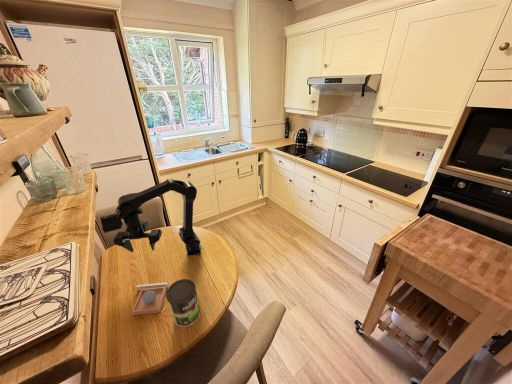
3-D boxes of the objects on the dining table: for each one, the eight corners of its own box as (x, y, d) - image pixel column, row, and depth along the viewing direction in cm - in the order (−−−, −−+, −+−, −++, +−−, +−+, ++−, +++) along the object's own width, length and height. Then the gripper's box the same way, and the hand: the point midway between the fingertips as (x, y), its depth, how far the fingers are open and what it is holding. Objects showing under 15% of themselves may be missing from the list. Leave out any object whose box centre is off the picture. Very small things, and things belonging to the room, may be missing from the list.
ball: (158, 294, 91) (156, 287, 88) (155, 305, 86) (152, 298, 84) (146, 295, 90) (143, 288, 88) (142, 307, 86) (139, 299, 83)
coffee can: (206, 309, 85) (201, 286, 78) (186, 332, 78) (179, 309, 71) (188, 297, 90) (182, 274, 83) (168, 317, 82) (159, 294, 76)
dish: (166, 289, 93) (165, 286, 92) (160, 312, 84) (158, 308, 83) (142, 292, 92) (141, 289, 91) (133, 315, 84) (131, 311, 83)
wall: (168, 286, 95) (167, 282, 94) (168, 287, 94) (166, 283, 93) (138, 289, 94) (136, 285, 93) (137, 290, 93) (136, 286, 92)
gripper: (161, 211, 98) (168, 237, 106) (118, 214, 96) (129, 240, 104) (154, 226, 88) (162, 253, 96) (106, 229, 87) (118, 257, 94)
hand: (143, 250), depth 98 cm, fingers open, 9 cm apart
